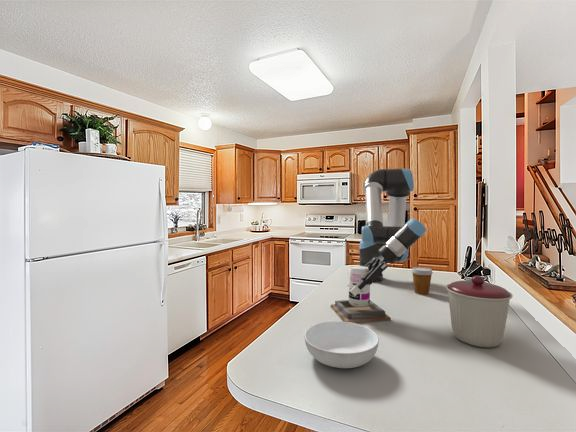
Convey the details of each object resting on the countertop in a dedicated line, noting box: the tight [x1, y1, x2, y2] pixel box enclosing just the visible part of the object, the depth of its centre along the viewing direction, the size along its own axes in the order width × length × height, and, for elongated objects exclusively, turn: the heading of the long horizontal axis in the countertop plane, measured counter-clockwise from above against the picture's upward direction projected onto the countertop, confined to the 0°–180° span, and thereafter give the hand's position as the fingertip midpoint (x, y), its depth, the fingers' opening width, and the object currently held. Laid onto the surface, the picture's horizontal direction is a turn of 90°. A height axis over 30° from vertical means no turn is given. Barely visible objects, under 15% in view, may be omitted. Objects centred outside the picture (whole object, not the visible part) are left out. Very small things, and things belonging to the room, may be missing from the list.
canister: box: [445, 275, 514, 348], centre depth 97 cm, size 18×18×21 cm
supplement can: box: [348, 265, 371, 307], centre depth 120 cm, size 8×8×15 cm
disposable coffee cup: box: [411, 266, 433, 296], centre depth 147 cm, size 10×10×12 cm
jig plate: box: [330, 299, 392, 324], centre depth 121 cm, size 18×18×3 cm
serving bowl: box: [303, 320, 380, 369], centre depth 86 cm, size 21×21×7 cm
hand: (350, 290), depth 121 cm, fingers closed on supplement can, 8 cm apart
